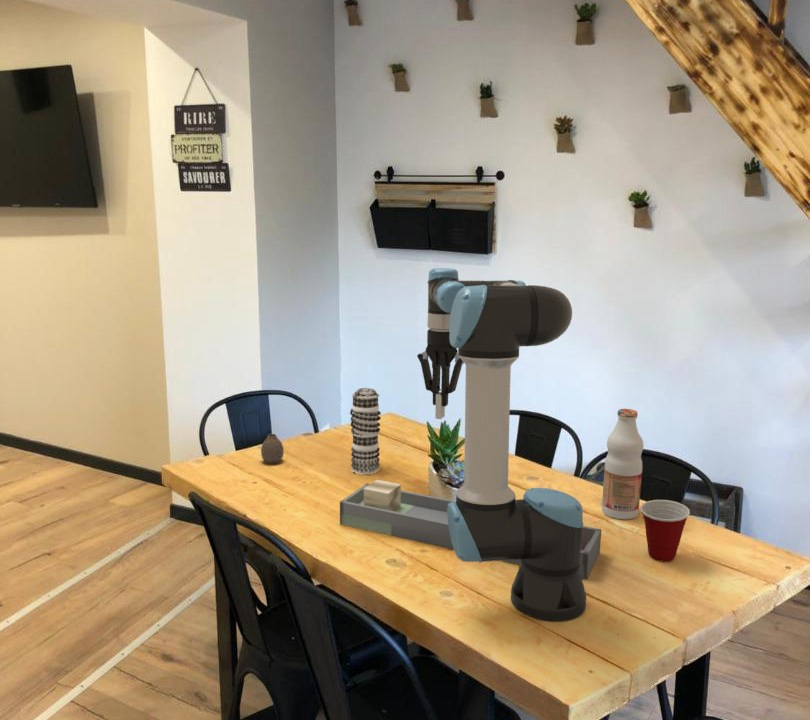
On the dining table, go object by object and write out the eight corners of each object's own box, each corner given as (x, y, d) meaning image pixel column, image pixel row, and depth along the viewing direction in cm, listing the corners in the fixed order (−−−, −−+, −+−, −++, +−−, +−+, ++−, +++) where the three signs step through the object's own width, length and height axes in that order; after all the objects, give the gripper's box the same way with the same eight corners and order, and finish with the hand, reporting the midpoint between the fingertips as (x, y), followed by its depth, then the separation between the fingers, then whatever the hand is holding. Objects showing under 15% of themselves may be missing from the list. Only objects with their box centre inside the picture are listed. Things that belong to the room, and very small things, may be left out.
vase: (260, 459, 235) (259, 432, 234) (282, 457, 238) (281, 430, 236) (262, 466, 229) (262, 439, 227) (285, 464, 231) (284, 437, 229)
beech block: (388, 516, 187) (388, 493, 186) (363, 511, 190) (363, 488, 189) (400, 506, 193) (400, 484, 192) (376, 501, 196) (376, 479, 195)
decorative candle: (346, 473, 224) (345, 392, 219) (355, 463, 233) (355, 385, 227) (375, 476, 222) (375, 395, 217) (383, 466, 231) (384, 387, 225)
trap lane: (586, 579, 163) (588, 554, 162) (339, 524, 189) (339, 501, 188) (599, 553, 175) (601, 529, 174) (366, 504, 201) (366, 483, 200)
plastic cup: (626, 549, 177) (630, 502, 175) (663, 543, 181) (668, 496, 178) (656, 570, 167) (661, 520, 165) (695, 563, 171) (700, 513, 169)
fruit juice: (594, 509, 200) (601, 408, 194) (621, 503, 204) (628, 404, 198) (618, 522, 192) (626, 417, 186) (646, 516, 196) (655, 413, 190)
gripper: (471, 328, 193) (468, 417, 198) (424, 324, 198) (423, 410, 203) (460, 333, 186) (457, 424, 191) (412, 328, 192) (411, 417, 197)
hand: (440, 417), depth 197 cm, fingers closed
